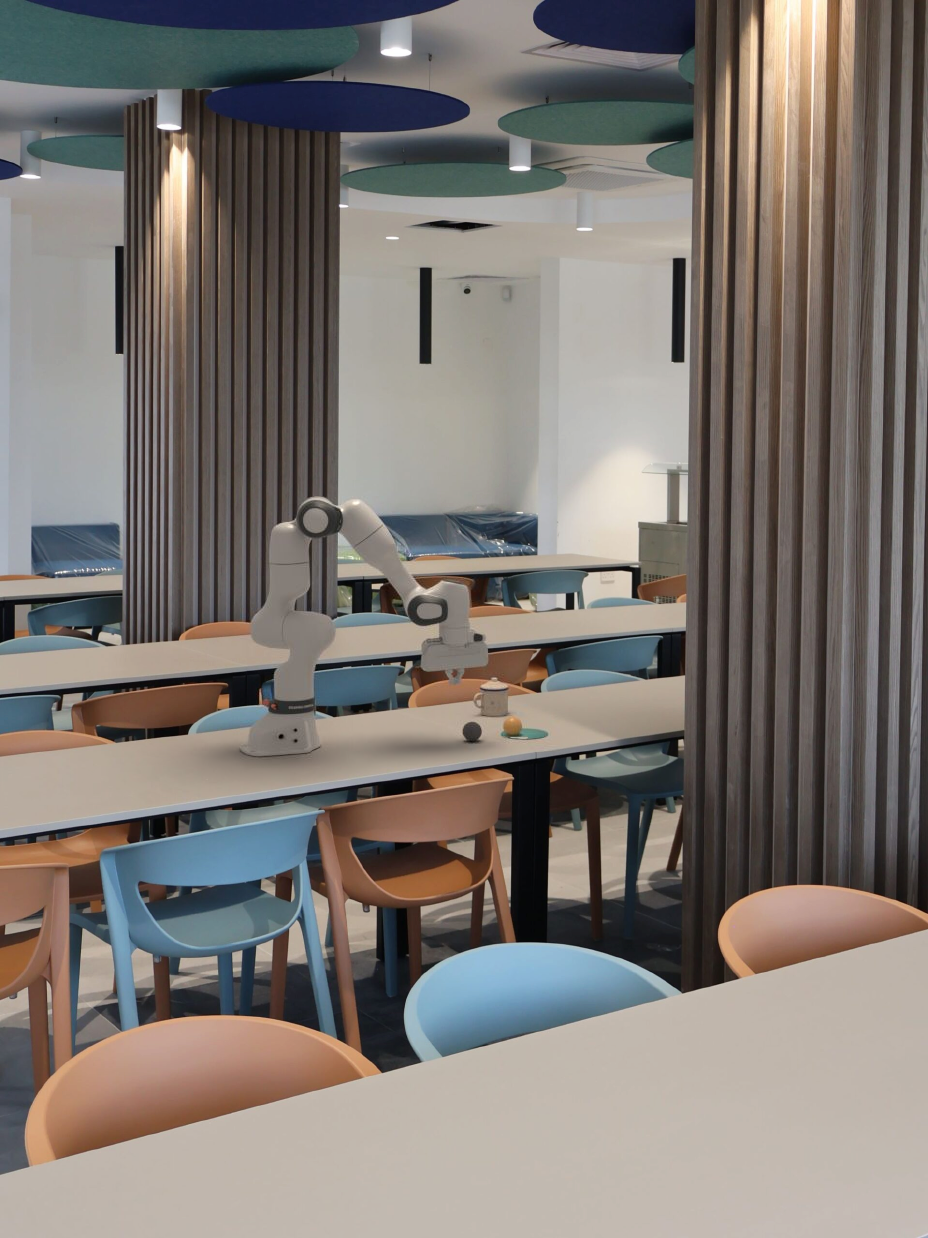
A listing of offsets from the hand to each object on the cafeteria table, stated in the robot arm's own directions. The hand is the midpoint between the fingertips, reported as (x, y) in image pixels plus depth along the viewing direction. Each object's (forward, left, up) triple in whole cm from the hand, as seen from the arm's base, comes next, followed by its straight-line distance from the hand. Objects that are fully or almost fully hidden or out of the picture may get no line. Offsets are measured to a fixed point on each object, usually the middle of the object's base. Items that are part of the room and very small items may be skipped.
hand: (454, 684), depth 364 cm
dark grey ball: (+5, 0, -14) cm, 15 cm away
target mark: (+23, 0, -17) cm, 29 cm away
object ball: (+19, 0, -14) cm, 24 cm away
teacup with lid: (+28, +30, -17) cm, 45 cm away
